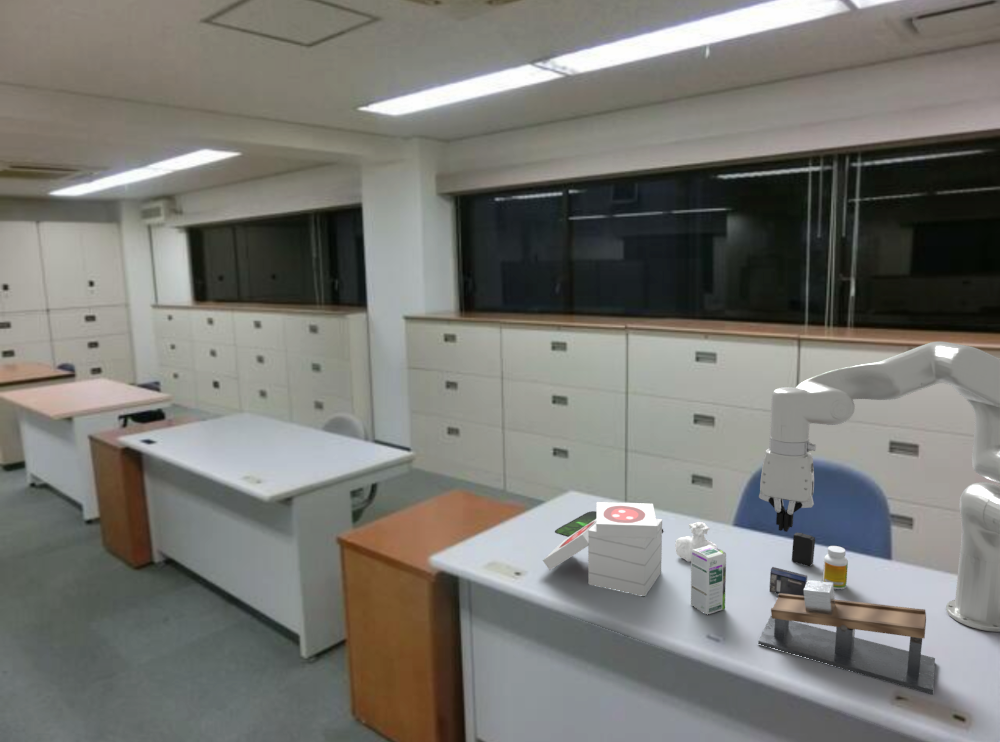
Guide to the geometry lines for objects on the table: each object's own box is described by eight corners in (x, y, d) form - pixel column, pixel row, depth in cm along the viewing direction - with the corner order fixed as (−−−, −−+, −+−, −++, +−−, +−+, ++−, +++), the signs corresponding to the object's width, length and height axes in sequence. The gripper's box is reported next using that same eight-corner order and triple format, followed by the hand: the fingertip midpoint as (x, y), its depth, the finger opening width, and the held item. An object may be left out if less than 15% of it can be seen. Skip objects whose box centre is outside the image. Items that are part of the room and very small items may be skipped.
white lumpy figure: (719, 571, 185) (726, 531, 189) (713, 564, 179) (721, 523, 184) (675, 561, 192) (684, 523, 196) (669, 554, 186) (678, 515, 190)
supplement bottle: (849, 591, 169) (851, 554, 167) (825, 589, 170) (828, 553, 168) (842, 580, 174) (845, 545, 172) (820, 579, 175) (822, 543, 173)
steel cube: (835, 605, 145) (833, 582, 145) (831, 615, 141) (829, 592, 140) (810, 602, 148) (807, 580, 147) (805, 612, 144) (803, 589, 143)
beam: (926, 620, 138) (925, 608, 137) (924, 642, 130) (923, 630, 130) (780, 603, 154) (779, 592, 153) (771, 621, 146) (770, 610, 146)
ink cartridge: (813, 564, 183) (815, 536, 182) (810, 567, 182) (812, 539, 180) (794, 558, 187) (796, 531, 185) (791, 561, 185) (793, 534, 184)
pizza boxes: (567, 549, 196) (567, 489, 193) (671, 570, 182) (672, 506, 178) (538, 577, 180) (537, 513, 176) (650, 603, 165) (651, 533, 162)
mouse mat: (551, 533, 208) (551, 530, 208) (590, 511, 225) (589, 508, 225) (629, 557, 191) (629, 553, 191) (665, 531, 208) (665, 528, 207)
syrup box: (707, 616, 159) (709, 558, 156) (689, 604, 164) (691, 548, 162) (725, 609, 162) (727, 552, 159) (707, 598, 167) (709, 543, 164)
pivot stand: (934, 662, 139) (937, 627, 138) (932, 694, 130) (936, 657, 128) (770, 619, 157) (772, 588, 156) (758, 644, 147) (759, 611, 146)
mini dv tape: (769, 591, 170) (770, 569, 169) (771, 589, 171) (772, 566, 170) (804, 601, 165) (805, 577, 164) (806, 598, 166) (807, 575, 165)
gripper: (830, 447, 142) (825, 530, 145) (755, 437, 150) (752, 516, 153) (824, 456, 136) (819, 542, 139) (747, 446, 144) (743, 528, 147)
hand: (784, 528), depth 146 cm, fingers closed
